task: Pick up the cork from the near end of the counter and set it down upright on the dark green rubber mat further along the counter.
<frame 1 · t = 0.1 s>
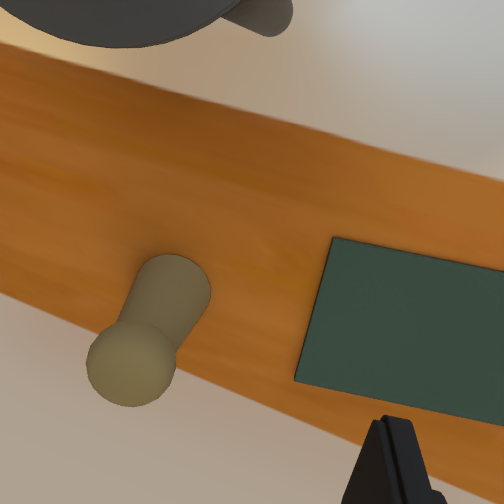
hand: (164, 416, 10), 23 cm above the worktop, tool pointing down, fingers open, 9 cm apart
side mat: (426, 336, 34), on the worktop
cork: (173, 288, 35), on the worktop
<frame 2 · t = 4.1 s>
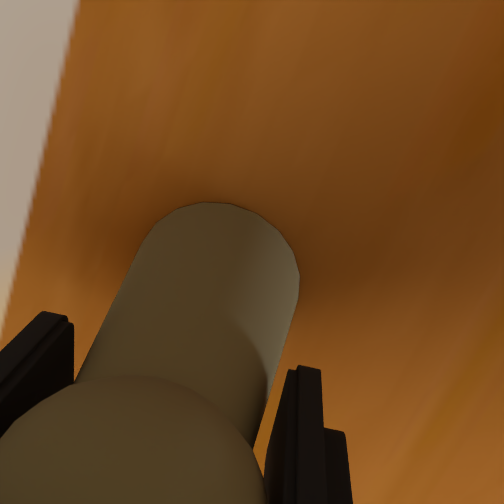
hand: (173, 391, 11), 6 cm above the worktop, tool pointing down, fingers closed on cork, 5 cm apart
cork: (217, 278, 16), on the worktop, touching gripper
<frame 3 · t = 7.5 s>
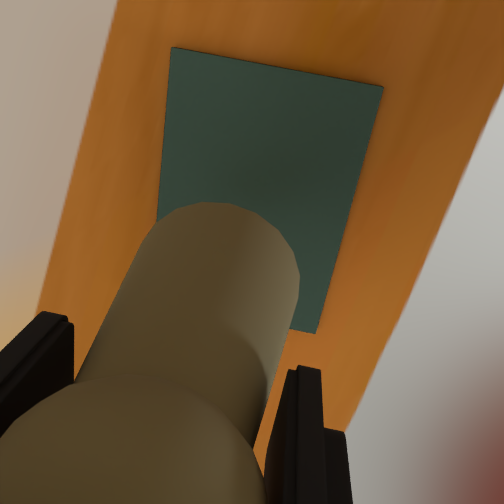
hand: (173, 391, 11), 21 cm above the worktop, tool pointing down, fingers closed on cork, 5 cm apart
side mat: (252, 205, 31), on the worktop
cork: (217, 278, 16), point 15 cm above the worktop, touching gripper
when the fingers open (6 cm above the worktop, at t = 11.3 s): cork stays where it is, resting on side mat.
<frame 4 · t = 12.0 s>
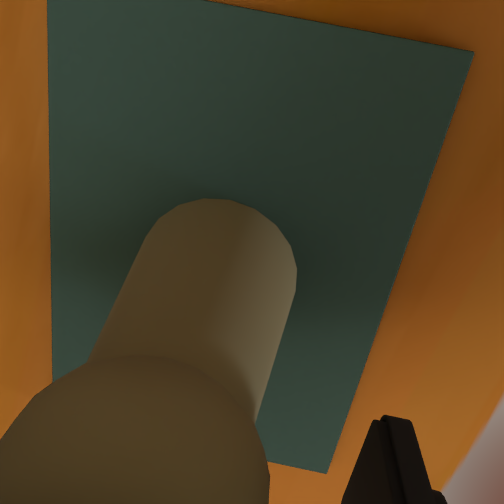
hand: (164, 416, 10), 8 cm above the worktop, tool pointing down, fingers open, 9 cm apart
side mat: (218, 269, 17), on the worktop
cork: (218, 272, 17), resting on side mat
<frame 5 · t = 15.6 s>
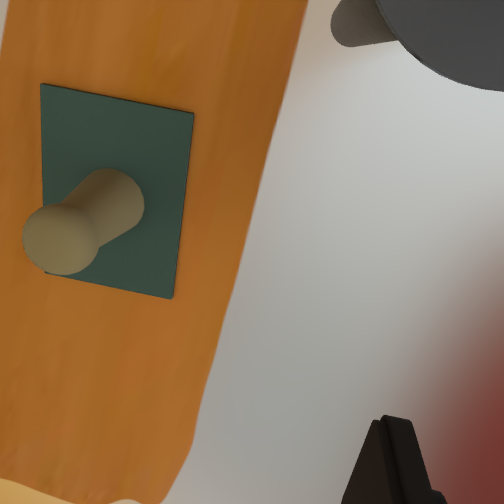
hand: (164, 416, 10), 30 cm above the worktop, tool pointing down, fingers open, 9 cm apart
side mat: (113, 199, 41), on the worktop
cork: (112, 200, 41), resting on side mat
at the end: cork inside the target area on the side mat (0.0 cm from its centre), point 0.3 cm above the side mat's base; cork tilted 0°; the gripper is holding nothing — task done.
